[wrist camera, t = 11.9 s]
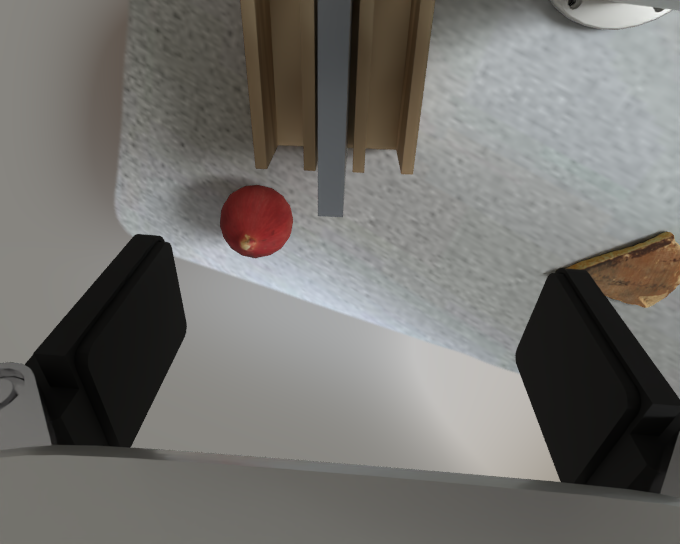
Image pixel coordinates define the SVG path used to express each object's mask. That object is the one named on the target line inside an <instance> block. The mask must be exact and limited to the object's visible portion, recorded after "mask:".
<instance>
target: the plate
mask: <svg viewBox="0 0 680 544" xmlns="http://www.w3.org/2000/svg"><path fill="white" fill-rule="evenodd" d="M352 17H353V0H318V216H330V217H343V206H344V191H345V176H346V161H347V146H348V120H349V94H350V69H351V43H352Z"/></svg>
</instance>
